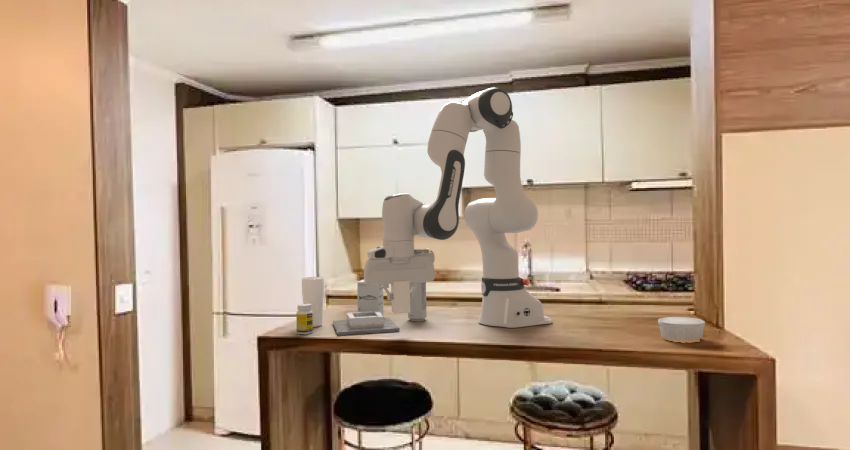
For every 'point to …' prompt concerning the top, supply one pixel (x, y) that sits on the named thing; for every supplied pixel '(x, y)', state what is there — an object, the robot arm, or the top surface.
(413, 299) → the energy drink can
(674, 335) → the ramekin
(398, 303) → the small white box
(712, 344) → the top surface
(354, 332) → the dock socket
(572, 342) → the top surface
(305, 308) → the supplement bottle
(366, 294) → the supplement box
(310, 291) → the drinking glass
